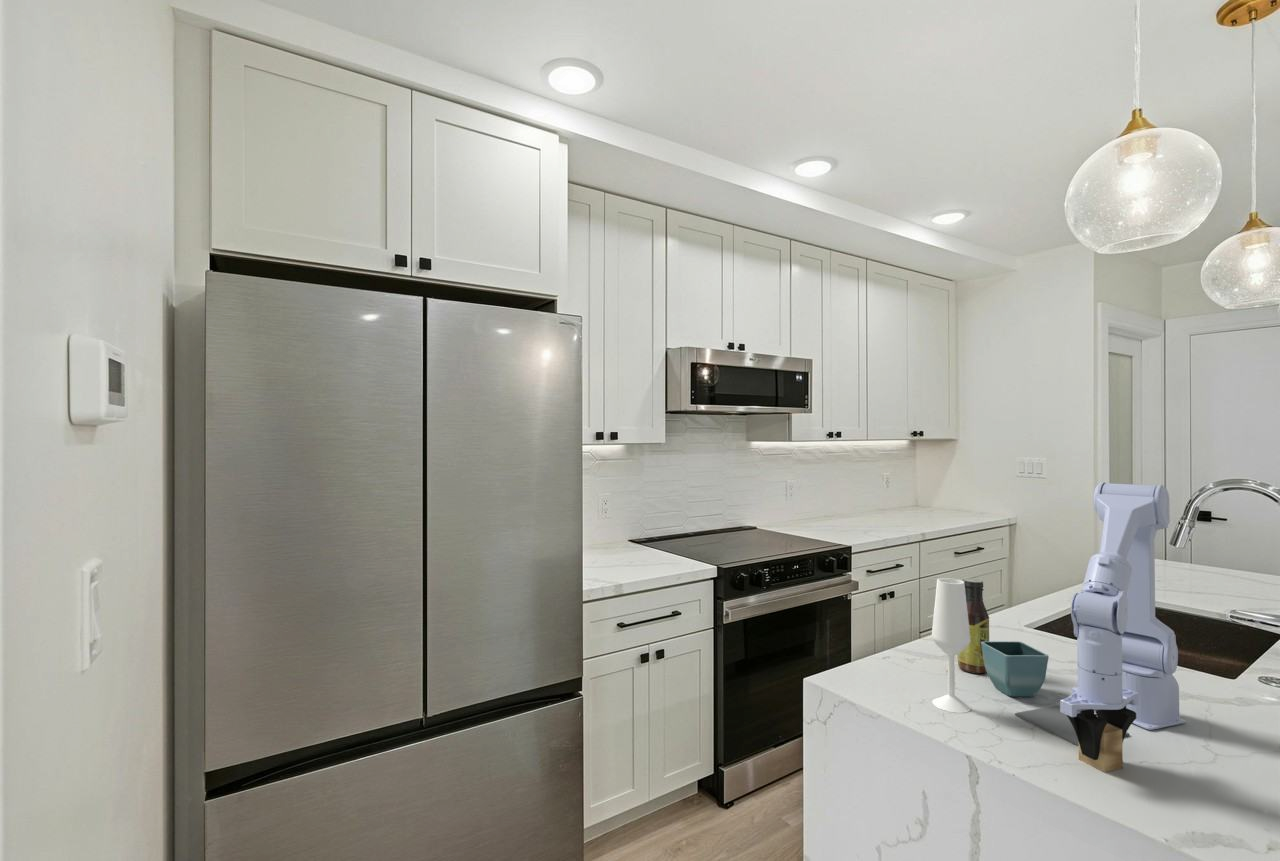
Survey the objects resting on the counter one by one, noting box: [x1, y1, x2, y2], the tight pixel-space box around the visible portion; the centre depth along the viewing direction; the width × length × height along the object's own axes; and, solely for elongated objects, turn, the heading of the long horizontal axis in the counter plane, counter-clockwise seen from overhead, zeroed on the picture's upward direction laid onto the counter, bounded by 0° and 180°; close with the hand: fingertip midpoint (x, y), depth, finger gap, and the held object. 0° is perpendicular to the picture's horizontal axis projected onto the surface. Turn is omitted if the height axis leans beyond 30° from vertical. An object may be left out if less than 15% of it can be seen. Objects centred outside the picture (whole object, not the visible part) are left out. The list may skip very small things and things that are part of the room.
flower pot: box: [981, 640, 1049, 697], centre depth 124 cm, size 9×9×9 cm
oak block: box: [1078, 723, 1124, 773], centre depth 97 cm, size 4×4×6 cm
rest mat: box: [1014, 704, 1130, 747], centre depth 110 cm, size 12×12×1 cm
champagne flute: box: [931, 577, 972, 714], centre depth 118 cm, size 7×7×24 cm
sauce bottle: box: [957, 578, 990, 674], centre depth 136 cm, size 7×6×20 cm
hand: (1100, 754), depth 97 cm, fingers closed on oak block, 4 cm apart
